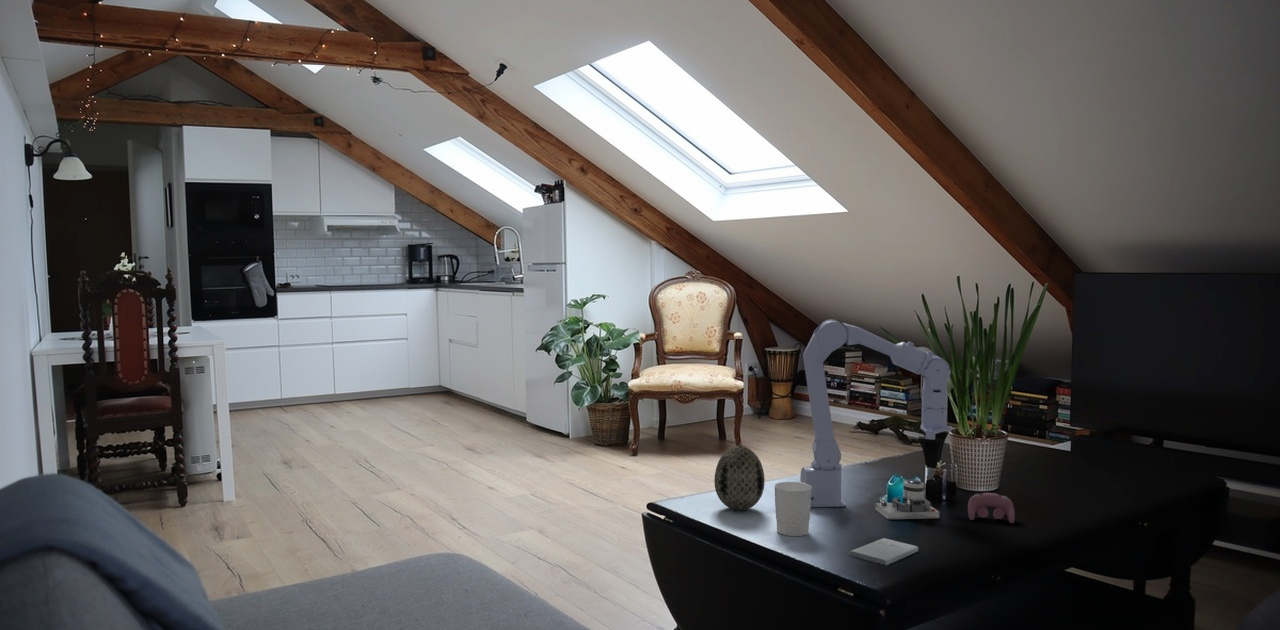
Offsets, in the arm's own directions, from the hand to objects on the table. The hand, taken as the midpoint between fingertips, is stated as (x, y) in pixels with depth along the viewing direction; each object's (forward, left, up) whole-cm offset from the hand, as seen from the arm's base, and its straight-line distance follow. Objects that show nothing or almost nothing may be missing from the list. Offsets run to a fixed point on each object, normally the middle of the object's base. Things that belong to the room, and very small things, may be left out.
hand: (933, 464), depth 211 cm
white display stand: (-8, -5, -10) cm, 14 cm away
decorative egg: (-46, +2, -11) cm, 47 cm away
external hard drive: (-23, -31, -11) cm, 40 cm away
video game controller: (+9, -10, -11) cm, 18 cm away
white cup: (-38, -16, -11) cm, 43 cm away
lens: (-7, -5, -9) cm, 12 cm away
